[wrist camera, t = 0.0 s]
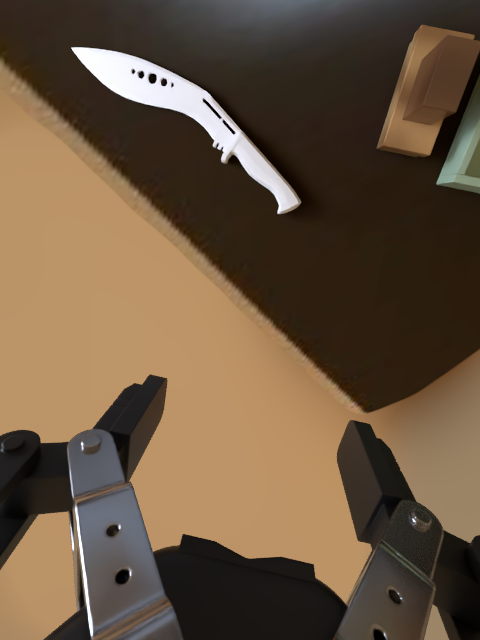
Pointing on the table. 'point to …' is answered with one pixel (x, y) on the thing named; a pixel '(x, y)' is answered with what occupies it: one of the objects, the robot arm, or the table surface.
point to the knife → (187, 112)
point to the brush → (428, 89)
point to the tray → (465, 150)
